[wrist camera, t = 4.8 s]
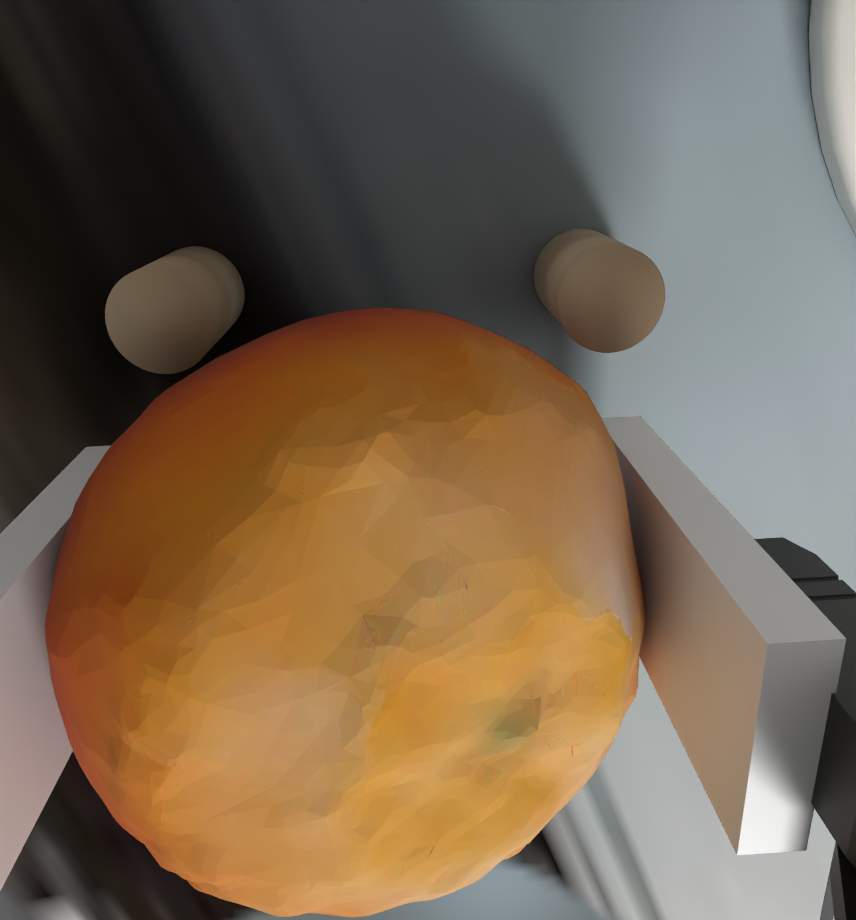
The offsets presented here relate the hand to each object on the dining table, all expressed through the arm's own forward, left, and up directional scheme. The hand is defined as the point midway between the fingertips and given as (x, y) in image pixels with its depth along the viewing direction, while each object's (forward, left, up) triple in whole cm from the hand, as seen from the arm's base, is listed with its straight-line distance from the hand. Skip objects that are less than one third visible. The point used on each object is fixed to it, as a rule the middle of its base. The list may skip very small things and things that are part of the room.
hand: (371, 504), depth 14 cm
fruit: (0, 0, -1) cm, 1 cm away
